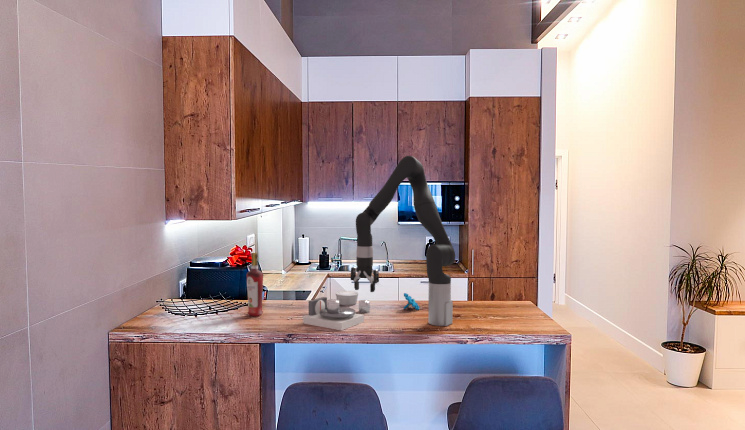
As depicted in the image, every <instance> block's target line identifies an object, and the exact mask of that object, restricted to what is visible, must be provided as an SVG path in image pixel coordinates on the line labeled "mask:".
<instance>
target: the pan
mask: <svg viewBox="0 0 745 430" xmlns="http://www.w3.org/2000/svg"><path fill="white" fill-rule="evenodd" d="M355 313H356V309H354V308H351V307H345V306H339V313H338V314H328V313H327V308H325V309H322V310H320V315H321V316H323V317H329V318H344V317H350V316H353V315H355Z"/></svg>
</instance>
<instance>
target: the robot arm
mask: <svg viewBox="0 0 745 430" xmlns="http://www.w3.org/2000/svg"><path fill="white" fill-rule="evenodd" d="M425 173H426V172H425V169H424V166H423V164H422V162H421V161H419V160H418V159H417V158H416V157H414V156H412V155H406V156H404V157H403V158H402V159H401V158H400V161H399V162H398V163H397V165H396V166H395V168H394V169H393V172H392V173H391V174H390V176H389V177H388V179H387V181H386V182H385V183H384V185H383V186H382V187H381V189H380V190H379V191H378V193H377V194H376V195H374V196H373V198H372V199H371V201H370V202H369V204H368V206H367V207H366V208H365V209H364V210H363V211H362V212H360V213H359V214H357V216H356V218H355V230H356V236H357V237H356V252H355V253H356V257H355V258H356V261H355V263H356V266H353V267H350V281H353V283H354V286H353V287H354V289H355V290H354V291H359V289H360V282H359V280H361V279H367V281H369V283H370V286H369V288H370V289H369V291H370V293H374V292H375V291H376V284H377V283H379V282H380V277H379V275H380V273H379V271H380V270H379V269H373V266H374V265H373V264H374V250H373V248H374V247H373V234H372V231H371V230H372V229H371V228H372V224H374V223H375V221H376V220H377V219H378V217H379V216H380V214H382V212H383V211H384V210H386V208H387V207H388V206H389V205H390V203H391V202H392V200H393V198H394V197H395V195H396V192H397V190H398V188H399V186H400V185H401V184H402V182H404V181H405V180H406V179H407V180H408V182H409V184H410V187H411V189H412V193H413V202H412V203H413V208H414V211H415V215H416V218H417V220H418V222H419V223H420V224H421V226H423V228H425V230H426V231H427V232H428V233H429V234H430V235H431V237H432V238H433V240H434V242H435V244H431V245H430V246H428V247H427V250H426V255H425V257H426V259H425V260H426V261H425V262H426V274H427V275H426V276H427V279H428V306H427V307H428V310H427V311H428V321H427V322H428V324H429V325H432V326H440V327H444V326H445V327H447V326H449V325H451V324H453V311H454V310H453V306H454V305H453V304H454V302H453V300H452V299H451V298H452V297H451V296H452V295H451V292H452V291H451V290H452V289H451V288H452V286H451V285H452V284H451V283H452V278H451V276H450V275H449V274H446V273H444V270H443V267H446V266H451V265H453V264H454V263H455V260H456V251H455V249H454V245H453V244H452V242H451V240H450V238H449V236H448V234H447V231H446V229H445V226H444V224H443V221H442V219H441V217H440V214H439V211H438V210H439V209H438V208H437V205H436V202H435V200H434V197H433V194H432V191H431V189H430V188H429V185H428V182H427V178H426V174H425Z"/></svg>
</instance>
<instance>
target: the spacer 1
mask: <svg viewBox="0 0 745 430" xmlns="http://www.w3.org/2000/svg"><path fill="white" fill-rule="evenodd" d="M339 307H340V305H339V300H337V298H335V299H333V298H332V299H331V298H330V299H327V313H328V314H338V313H339Z"/></svg>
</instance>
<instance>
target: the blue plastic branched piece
mask: <svg viewBox="0 0 745 430" xmlns="http://www.w3.org/2000/svg"><path fill="white" fill-rule="evenodd" d="M403 297H404V299H405V300H406V301H407V304H406V305H404V306H403V310H406V309H407V308H409V307H410V306H411V307H412V308H414V310H416V311H419V310H420V306H419V304H418V303H417V302H416V299H415V298H413V297H412V295H409V294H408V293H407V292H404V293H403Z"/></svg>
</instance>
